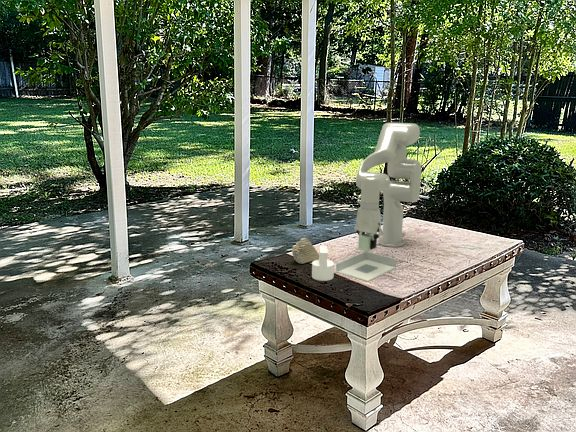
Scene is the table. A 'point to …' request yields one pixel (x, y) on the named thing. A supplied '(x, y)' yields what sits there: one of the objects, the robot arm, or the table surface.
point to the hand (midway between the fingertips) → (367, 246)
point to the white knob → (322, 266)
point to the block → (365, 242)
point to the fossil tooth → (304, 251)
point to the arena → (366, 266)
